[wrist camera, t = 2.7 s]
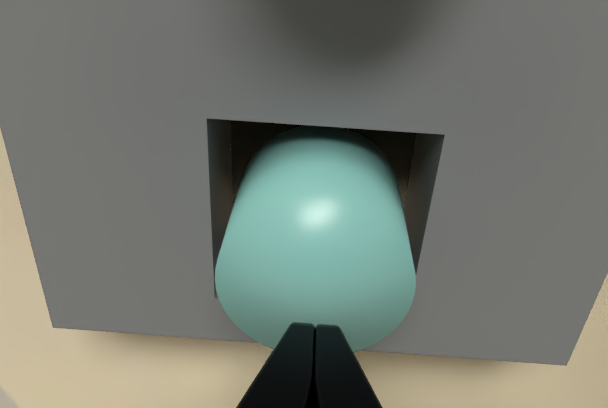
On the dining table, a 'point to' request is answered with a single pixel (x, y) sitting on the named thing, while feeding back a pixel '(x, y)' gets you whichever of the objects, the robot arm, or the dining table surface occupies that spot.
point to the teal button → (317, 240)
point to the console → (316, 112)
